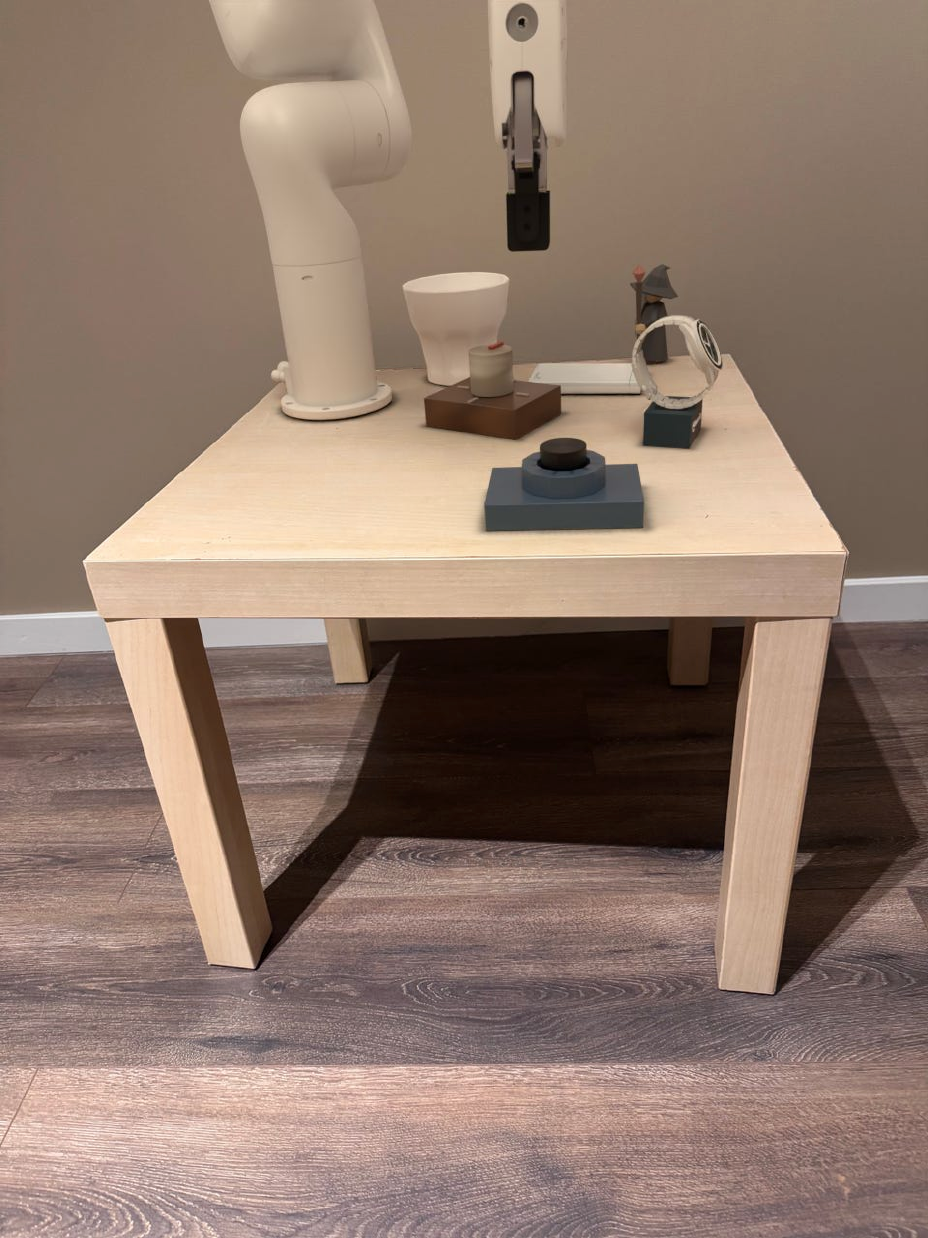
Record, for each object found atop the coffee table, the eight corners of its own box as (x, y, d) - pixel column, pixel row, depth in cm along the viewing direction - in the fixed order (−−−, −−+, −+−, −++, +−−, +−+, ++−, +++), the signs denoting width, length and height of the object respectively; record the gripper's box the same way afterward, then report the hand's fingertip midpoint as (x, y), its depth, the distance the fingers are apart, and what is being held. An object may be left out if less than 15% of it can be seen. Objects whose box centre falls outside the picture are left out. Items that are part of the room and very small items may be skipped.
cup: (415, 366, 116) (406, 275, 110) (512, 360, 115) (508, 268, 109) (407, 393, 105) (396, 294, 99) (514, 387, 104) (509, 287, 99)
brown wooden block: (426, 426, 94) (423, 396, 92) (474, 402, 100) (472, 373, 99) (516, 439, 88) (515, 408, 87) (561, 413, 94) (560, 383, 93)
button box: (485, 531, 70) (482, 482, 68) (493, 492, 77) (491, 446, 75) (643, 527, 68) (644, 478, 66) (636, 488, 75) (638, 442, 73)
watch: (711, 449, 82) (720, 325, 76) (624, 444, 85) (626, 323, 79) (721, 430, 86) (730, 311, 81) (638, 425, 89) (641, 310, 84)
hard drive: (526, 381, 100) (640, 380, 97) (538, 362, 107) (645, 360, 104) (527, 396, 101) (640, 395, 98) (539, 376, 108) (644, 374, 105)
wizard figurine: (629, 355, 113) (631, 253, 107) (674, 354, 112) (679, 251, 106) (627, 373, 106) (629, 265, 100) (676, 372, 105) (681, 262, 99)
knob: (499, 399, 90) (497, 353, 88) (462, 394, 92) (459, 350, 90) (521, 387, 93) (520, 342, 91) (485, 383, 95) (483, 339, 93)
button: (539, 475, 69) (539, 453, 69) (541, 459, 73) (540, 438, 72) (586, 474, 69) (586, 452, 68) (586, 457, 72) (586, 436, 71)
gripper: (581, -63, 53) (577, 265, 63) (582, -38, 66) (578, 232, 76) (455, -53, 54) (470, 269, 64) (480, -30, 67) (489, 235, 76)
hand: (528, 248), depth 70 cm, fingers closed
